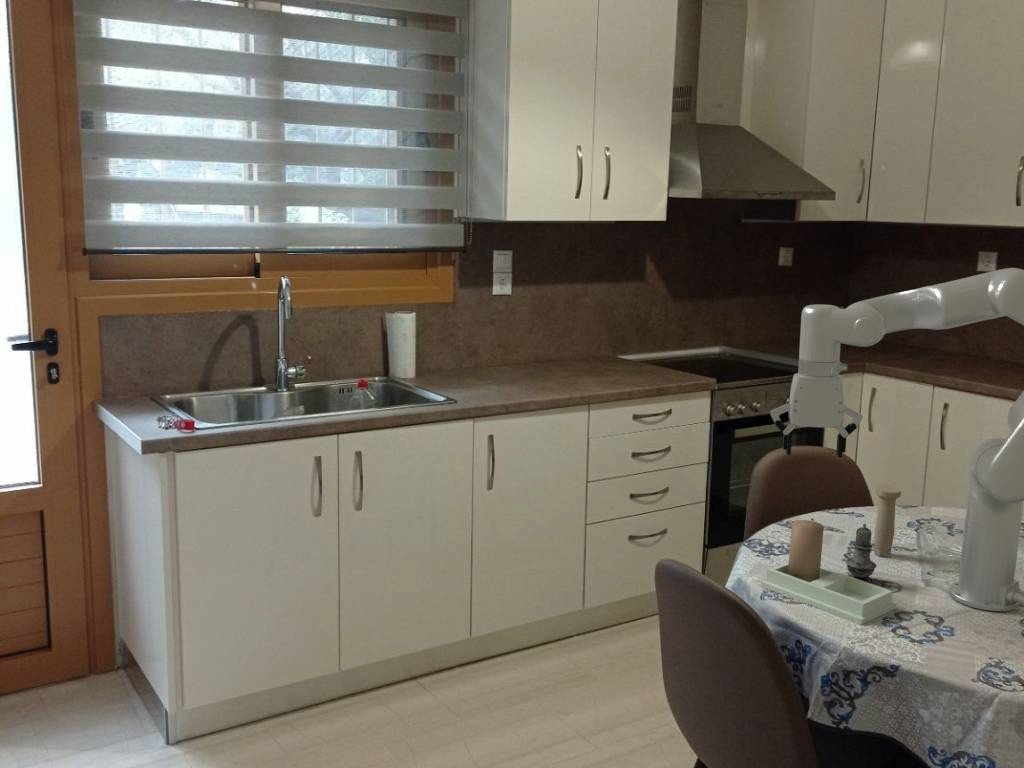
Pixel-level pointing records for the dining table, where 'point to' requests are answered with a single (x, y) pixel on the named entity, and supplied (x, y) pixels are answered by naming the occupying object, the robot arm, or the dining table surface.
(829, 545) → the dining table surface
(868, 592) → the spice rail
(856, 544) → the salt shaker
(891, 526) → the handle
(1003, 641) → the dining table surface
